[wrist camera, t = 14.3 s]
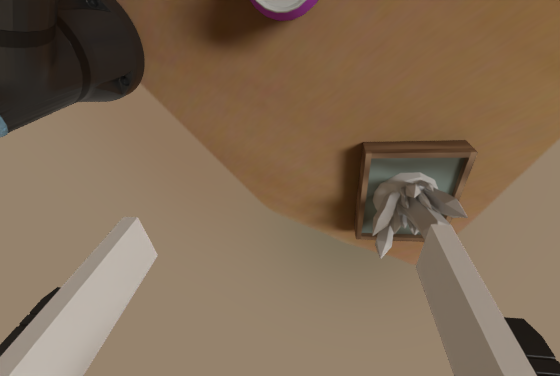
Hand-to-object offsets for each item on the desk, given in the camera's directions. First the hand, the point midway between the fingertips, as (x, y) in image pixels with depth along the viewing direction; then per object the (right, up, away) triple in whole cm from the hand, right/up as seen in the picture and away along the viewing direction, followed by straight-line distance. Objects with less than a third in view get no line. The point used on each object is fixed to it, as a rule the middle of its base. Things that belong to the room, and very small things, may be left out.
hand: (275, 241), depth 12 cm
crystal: (+20, +1, +31) cm, 37 cm away
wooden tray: (+21, +2, +33) cm, 39 cm away
